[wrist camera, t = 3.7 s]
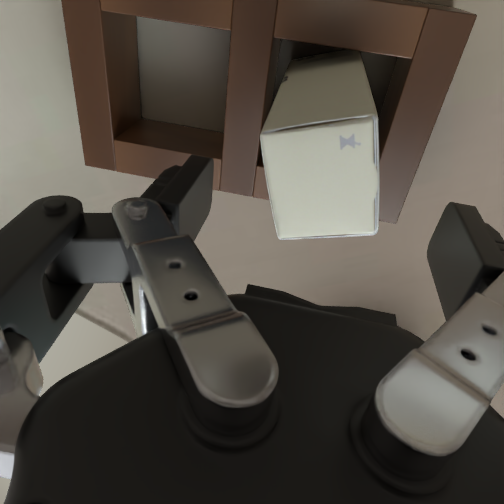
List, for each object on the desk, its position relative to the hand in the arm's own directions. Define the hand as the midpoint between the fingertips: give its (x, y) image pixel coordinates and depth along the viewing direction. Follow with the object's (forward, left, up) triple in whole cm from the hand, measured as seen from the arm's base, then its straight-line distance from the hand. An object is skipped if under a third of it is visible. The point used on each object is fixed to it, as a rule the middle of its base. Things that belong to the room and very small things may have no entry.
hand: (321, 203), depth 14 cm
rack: (-5, 0, -15) cm, 15 cm away
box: (0, 0, -15) cm, 15 cm away
